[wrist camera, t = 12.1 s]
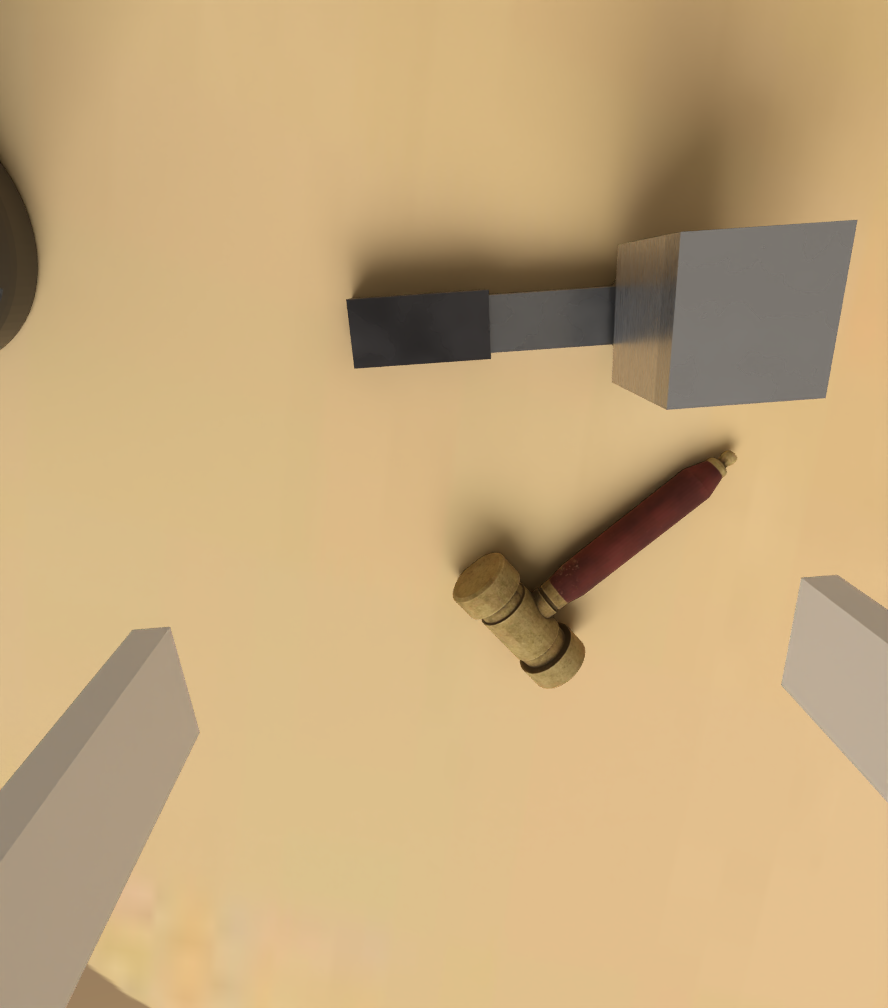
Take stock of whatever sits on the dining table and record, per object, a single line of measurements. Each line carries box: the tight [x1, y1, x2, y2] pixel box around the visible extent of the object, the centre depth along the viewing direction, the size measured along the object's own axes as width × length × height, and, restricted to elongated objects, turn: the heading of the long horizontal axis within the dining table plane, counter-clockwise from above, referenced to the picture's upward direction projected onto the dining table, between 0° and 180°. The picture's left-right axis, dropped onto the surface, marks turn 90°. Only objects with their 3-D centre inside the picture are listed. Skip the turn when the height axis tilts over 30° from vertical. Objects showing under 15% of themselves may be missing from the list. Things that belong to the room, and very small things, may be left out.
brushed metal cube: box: [612, 220, 857, 410], centre depth 29 cm, size 8×8×8 cm
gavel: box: [453, 450, 737, 689], centre depth 40 cm, size 21×5×10 cm
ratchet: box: [346, 279, 616, 369], centre depth 32 cm, size 22×7×8 cm, turn 93°
